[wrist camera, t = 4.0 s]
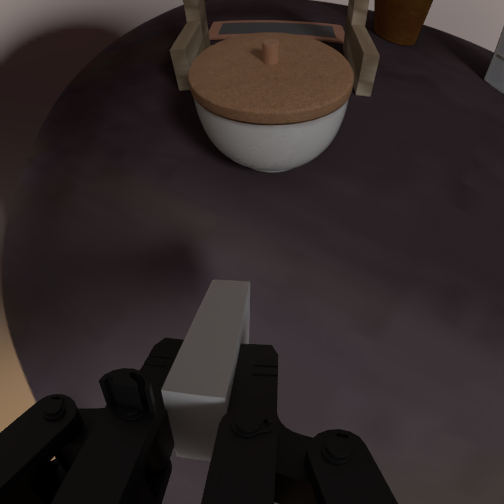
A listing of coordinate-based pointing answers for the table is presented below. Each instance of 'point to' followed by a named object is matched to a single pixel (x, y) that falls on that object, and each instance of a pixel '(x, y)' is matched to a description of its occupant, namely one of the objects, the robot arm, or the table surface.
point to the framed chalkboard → (278, 29)
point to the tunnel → (354, 48)
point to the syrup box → (497, 67)
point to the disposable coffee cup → (400, 19)
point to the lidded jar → (271, 98)
